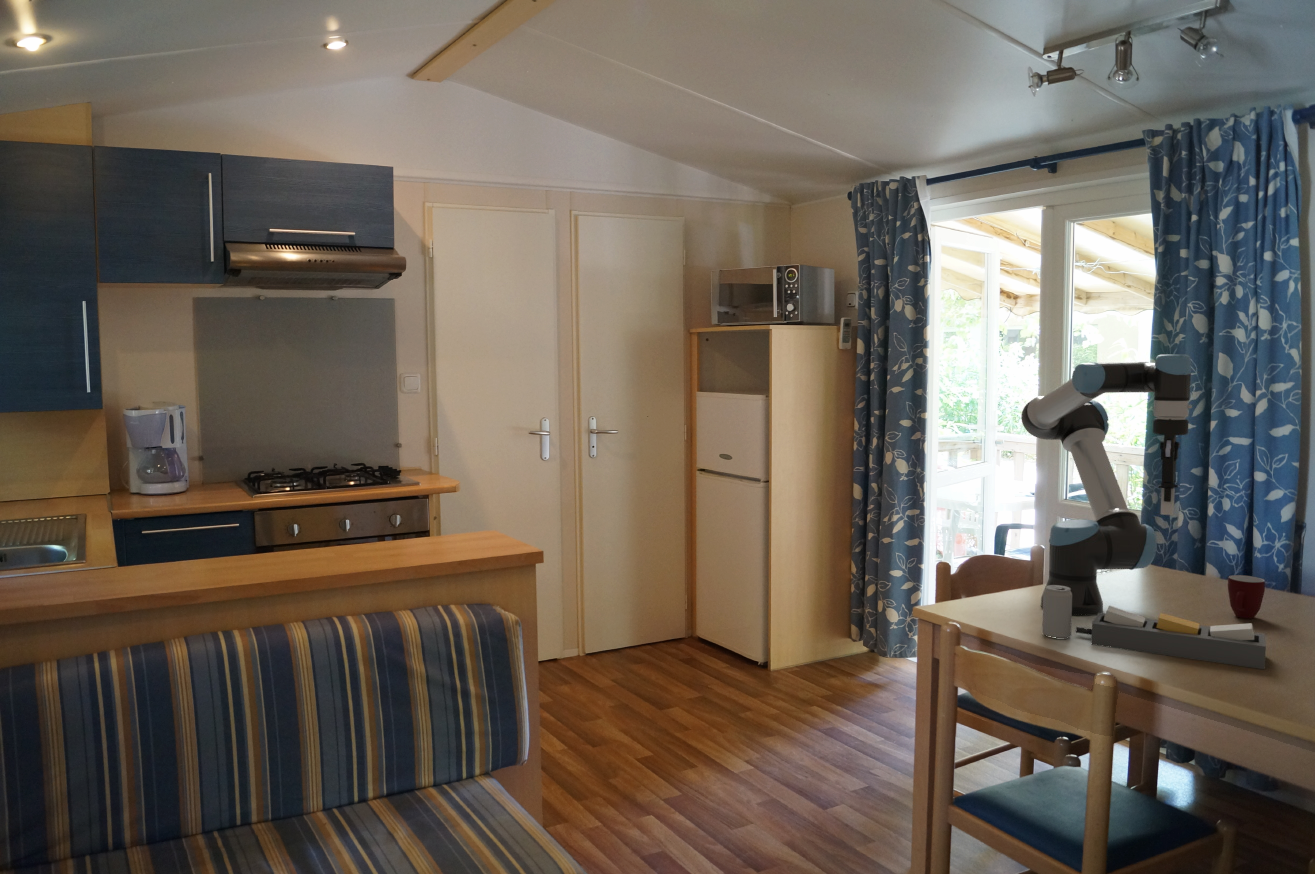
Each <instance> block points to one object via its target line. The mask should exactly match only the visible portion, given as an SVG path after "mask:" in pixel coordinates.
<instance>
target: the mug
mask: <svg viewBox="0 0 1315 874" xmlns="http://www.w3.org/2000/svg"><path fill="white" fill-rule="evenodd" d="M1265 589H1266V580H1265V579H1264V578H1260V577H1256V576H1250V575H1245V574H1244V575H1243V574H1240V575H1239V574H1238V575H1237V574H1234V575H1229V576H1228V577H1227V591H1228V597H1229V605H1230V607H1231V610H1232V612H1233V614H1234V615H1235V617H1237V618H1239V619H1243V620H1245V619H1246V620H1252V619H1255V617H1256V616H1257V615H1258V613H1259V611H1260V610H1261V607H1262V603H1263V598H1264V595H1265Z"/></svg>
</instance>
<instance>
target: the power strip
mask: <svg viewBox="0 0 1315 874" xmlns="http://www.w3.org/2000/svg"><path fill="white" fill-rule="evenodd" d="M1105 614H1106V612H1102V613H1099V612H1098V614H1096V615H1095V618H1093V621H1092V622H1091V628H1090V627H1089V628H1087V627H1081V626H1076V630H1075V632H1076V634H1077V633H1078V634H1084V635H1090V636H1091V639H1090V641H1091V643H1092V644H1091V643H1090V644H1091V645H1093V644H1097V645H1096V646H1099V645H1103V646H1102V647H1106V646H1109V647H1108V648H1113V647H1114V648H1113V649H1120V648H1122V649H1121V650H1127V649H1128V651H1135V650H1136V651H1135V652H1140V653H1141V652H1142V653H1149V654H1154V655H1155V654H1156V655H1162V656H1168V657H1170V656H1171V657H1176V658H1177V657H1178V658H1182V659H1183V658H1184V659H1190V660H1197V661H1205V662H1211V663H1216V664H1217V663H1218V664H1224V665H1233V666H1239V667H1245V668H1253V669H1259V670H1265V669H1266V653H1267V652H1266V650H1267V647H1266V646H1267V644H1266V643H1267V642H1266V641H1267V640H1266V633H1264V632H1255V631H1254V640H1235V639H1227V638H1220V637H1212V636H1211V634H1210V628H1211V626H1207V625H1200V624H1199V629H1198V633H1197V634H1190V633H1182V632H1174V631H1167V630H1163V629H1159V628H1156V627H1157V623H1158V619H1152V618H1146V617H1145V622H1144V625H1143V627H1137V626H1129V625H1122V624H1114V623H1111V622H1108V621H1105V620H1104V617H1105ZM1110 646H1111V647H1110Z"/></svg>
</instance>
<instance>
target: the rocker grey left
mask: <svg viewBox="0 0 1315 874" xmlns="http://www.w3.org/2000/svg"><path fill="white" fill-rule="evenodd" d="M1105 613H1106V614H1105V617H1104V620H1105V621H1108V622H1111V623H1114V624H1122V625H1129V626H1137V627H1143V625H1144V622H1145V618H1146V617H1145V616H1142V615H1138V614H1136V613H1133V612H1129V611H1127V610H1123V609H1121V608H1117V607H1115V606H1111V605H1108V607H1107V609H1106V611H1105Z"/></svg>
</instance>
